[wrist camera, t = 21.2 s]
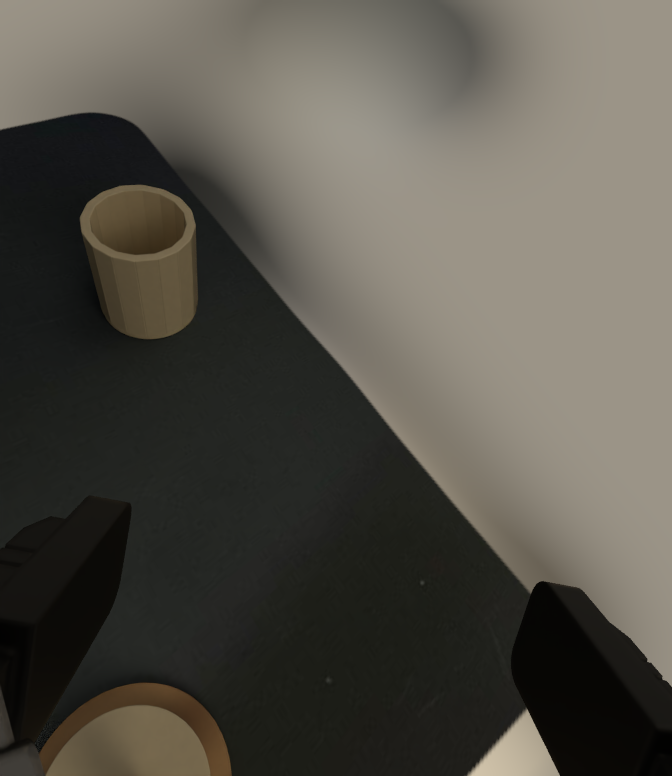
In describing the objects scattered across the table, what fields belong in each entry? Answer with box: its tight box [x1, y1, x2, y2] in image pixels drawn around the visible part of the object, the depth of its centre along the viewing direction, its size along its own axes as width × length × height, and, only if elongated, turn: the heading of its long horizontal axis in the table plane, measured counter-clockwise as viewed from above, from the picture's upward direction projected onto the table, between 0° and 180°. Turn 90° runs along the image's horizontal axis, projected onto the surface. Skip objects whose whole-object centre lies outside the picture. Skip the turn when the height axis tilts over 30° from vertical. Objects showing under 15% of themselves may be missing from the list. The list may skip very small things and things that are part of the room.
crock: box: [80, 185, 198, 339], centre depth 40 cm, size 7×7×8 cm
